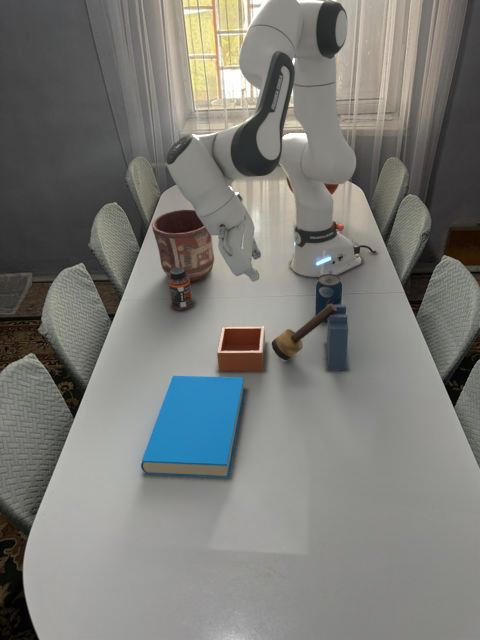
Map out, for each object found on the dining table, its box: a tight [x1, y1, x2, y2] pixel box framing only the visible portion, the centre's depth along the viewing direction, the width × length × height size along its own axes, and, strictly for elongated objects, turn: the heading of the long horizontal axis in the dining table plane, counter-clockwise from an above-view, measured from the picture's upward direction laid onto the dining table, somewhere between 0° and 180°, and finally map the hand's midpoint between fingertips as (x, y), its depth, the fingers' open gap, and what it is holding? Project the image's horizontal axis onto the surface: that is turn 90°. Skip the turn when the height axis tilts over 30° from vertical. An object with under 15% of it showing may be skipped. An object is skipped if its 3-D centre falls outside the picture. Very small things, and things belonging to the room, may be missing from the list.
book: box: [140, 375, 246, 479], centre depth 107 cm, size 17×4×25 cm
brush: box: [271, 304, 337, 362], centre depth 121 cm, size 15×6×15 cm, turn 87°
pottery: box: [151, 209, 215, 284], centre depth 156 cm, size 18×18×18 cm
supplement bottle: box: [167, 267, 194, 311], centre depth 144 cm, size 6×6×11 cm
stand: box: [326, 304, 349, 371], centre depth 121 cm, size 4×10×14 cm, turn 177°
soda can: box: [314, 274, 344, 325], centre depth 135 cm, size 7×7×12 cm
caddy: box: [216, 326, 266, 372], centre depth 125 cm, size 11×11×6 cm
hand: (257, 267), depth 111 cm, fingers open, 8 cm apart
